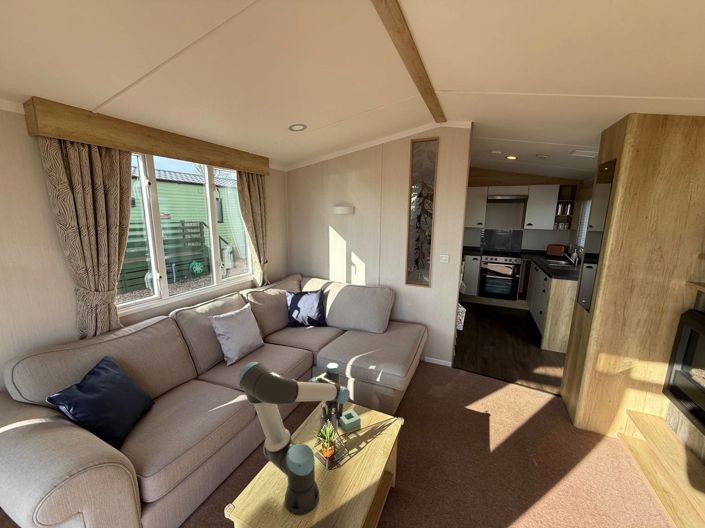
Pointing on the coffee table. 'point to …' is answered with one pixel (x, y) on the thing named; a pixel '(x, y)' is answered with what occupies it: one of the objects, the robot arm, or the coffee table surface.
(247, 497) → the coffee table surface
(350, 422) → the teal collar block
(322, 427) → the medium steel pin
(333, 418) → the long steel pin
